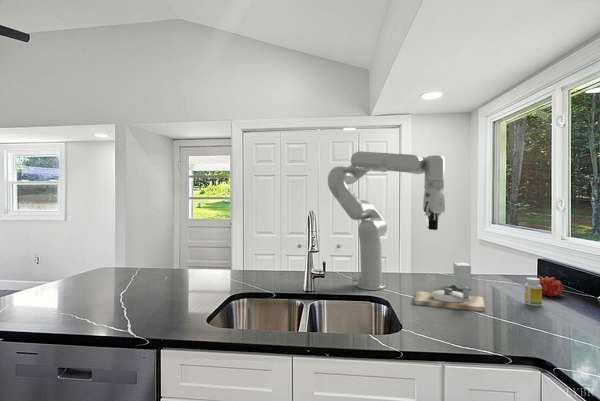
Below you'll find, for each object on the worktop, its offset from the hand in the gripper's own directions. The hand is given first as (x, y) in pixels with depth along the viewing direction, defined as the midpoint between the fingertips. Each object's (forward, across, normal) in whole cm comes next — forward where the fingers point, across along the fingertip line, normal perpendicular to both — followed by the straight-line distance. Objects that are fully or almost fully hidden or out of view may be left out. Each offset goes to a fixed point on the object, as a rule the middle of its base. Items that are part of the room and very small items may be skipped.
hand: (433, 229), depth 144 cm
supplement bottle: (+26, +14, -33) cm, 44 cm away
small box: (+27, +21, -4) cm, 35 cm away
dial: (+25, -7, -12) cm, 29 cm away
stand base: (+27, -6, -10) cm, 29 cm away
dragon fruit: (+26, +32, -34) cm, 53 cm away
